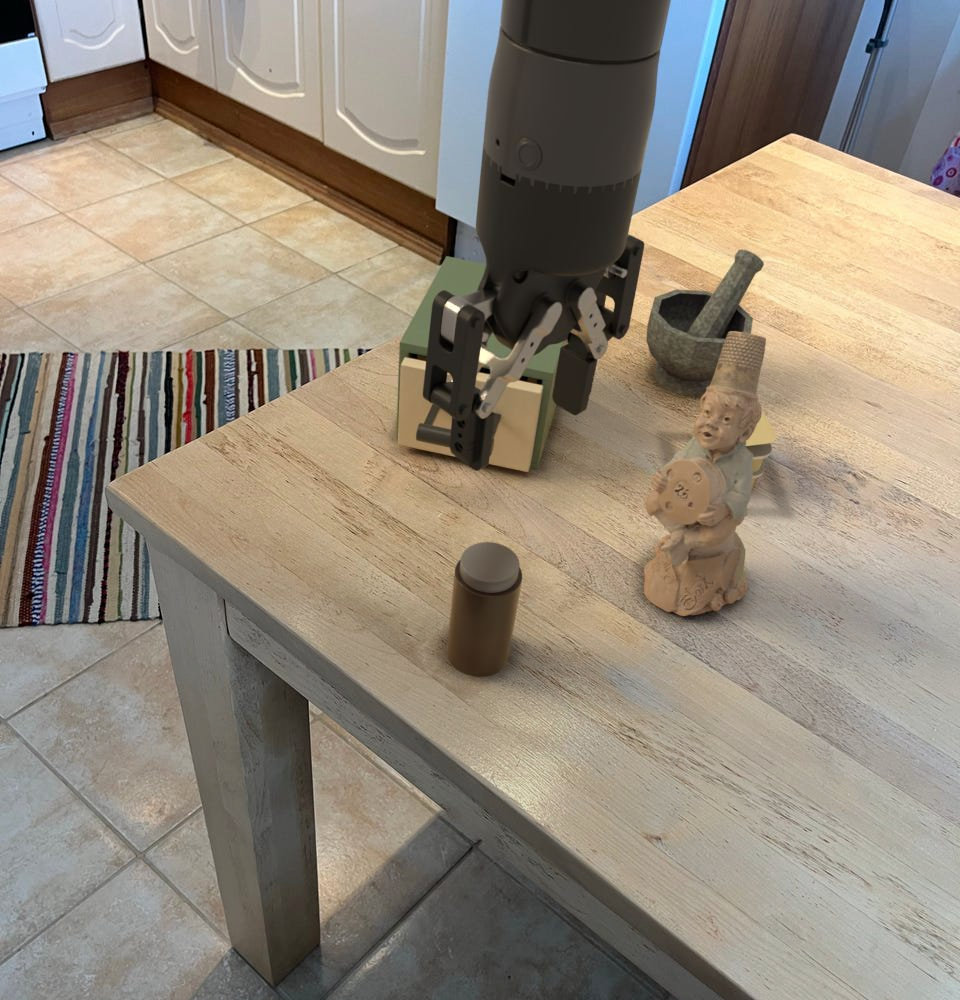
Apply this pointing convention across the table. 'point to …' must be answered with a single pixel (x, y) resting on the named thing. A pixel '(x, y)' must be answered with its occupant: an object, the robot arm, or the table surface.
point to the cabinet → (463, 281)
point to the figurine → (708, 491)
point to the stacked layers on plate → (760, 445)
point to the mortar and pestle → (698, 327)
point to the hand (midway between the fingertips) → (520, 433)
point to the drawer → (433, 425)
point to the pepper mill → (483, 609)
